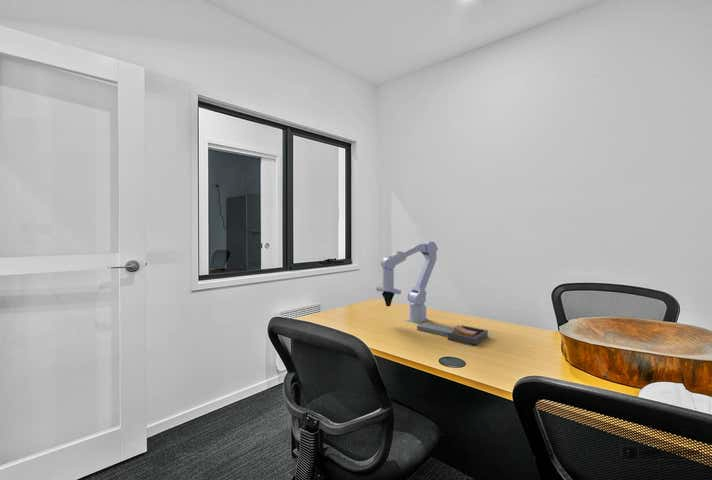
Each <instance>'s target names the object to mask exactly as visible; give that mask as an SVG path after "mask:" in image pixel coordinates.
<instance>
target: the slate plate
mask: <svg viewBox="0 0 712 480" xmlns="http://www.w3.org/2000/svg"><path fill="white" fill-rule="evenodd" d="M453 329H454V327H451V326H445V325H440V324H435V323H431V322H426V321H423V322H421V323H419V324H418V325H417V326H416V330H417V331H421V332H424V333H431V334H433V335H434V334H435V335H438V336H442V337H443V336H444V337H447V338H448V333H449V332H450V333H454V332H453ZM454 334H455V333H454Z"/></svg>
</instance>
